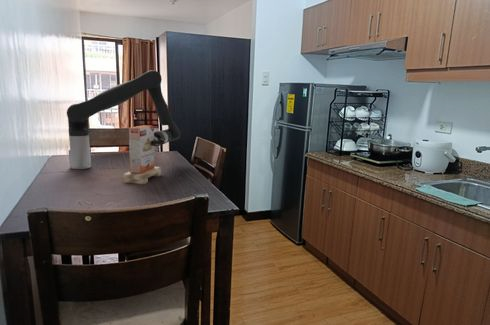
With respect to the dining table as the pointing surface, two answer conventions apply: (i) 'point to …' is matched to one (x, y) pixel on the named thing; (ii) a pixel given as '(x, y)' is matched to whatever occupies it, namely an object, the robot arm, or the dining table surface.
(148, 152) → the cracker box
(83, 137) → the robot arm
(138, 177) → the birch stand
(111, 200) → the dining table surface
